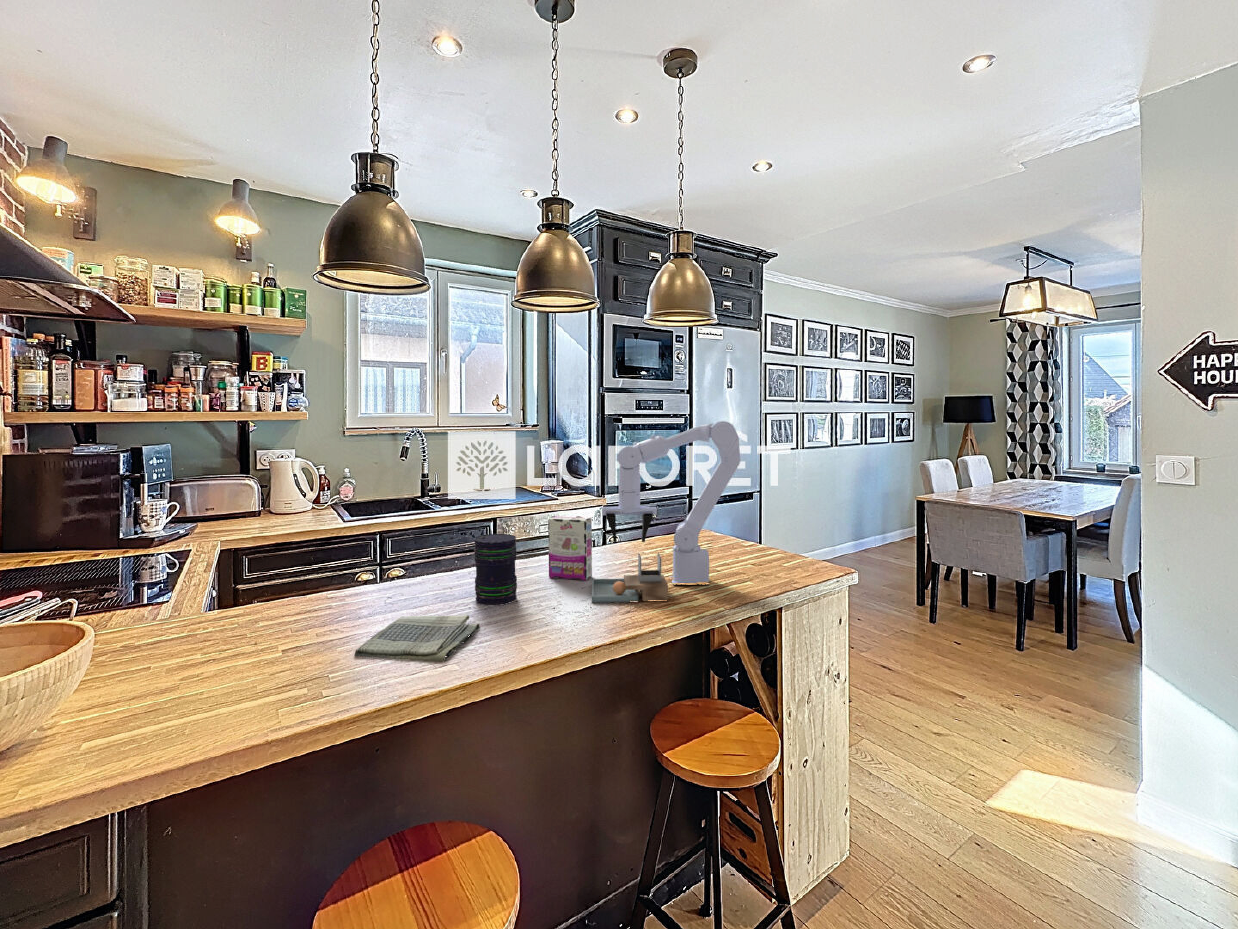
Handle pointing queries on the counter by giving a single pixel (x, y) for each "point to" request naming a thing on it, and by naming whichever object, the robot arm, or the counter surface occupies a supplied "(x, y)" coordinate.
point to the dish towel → (419, 638)
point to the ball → (619, 588)
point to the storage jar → (495, 569)
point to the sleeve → (649, 572)
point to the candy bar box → (570, 548)
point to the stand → (647, 588)
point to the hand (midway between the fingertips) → (629, 541)
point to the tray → (610, 592)
